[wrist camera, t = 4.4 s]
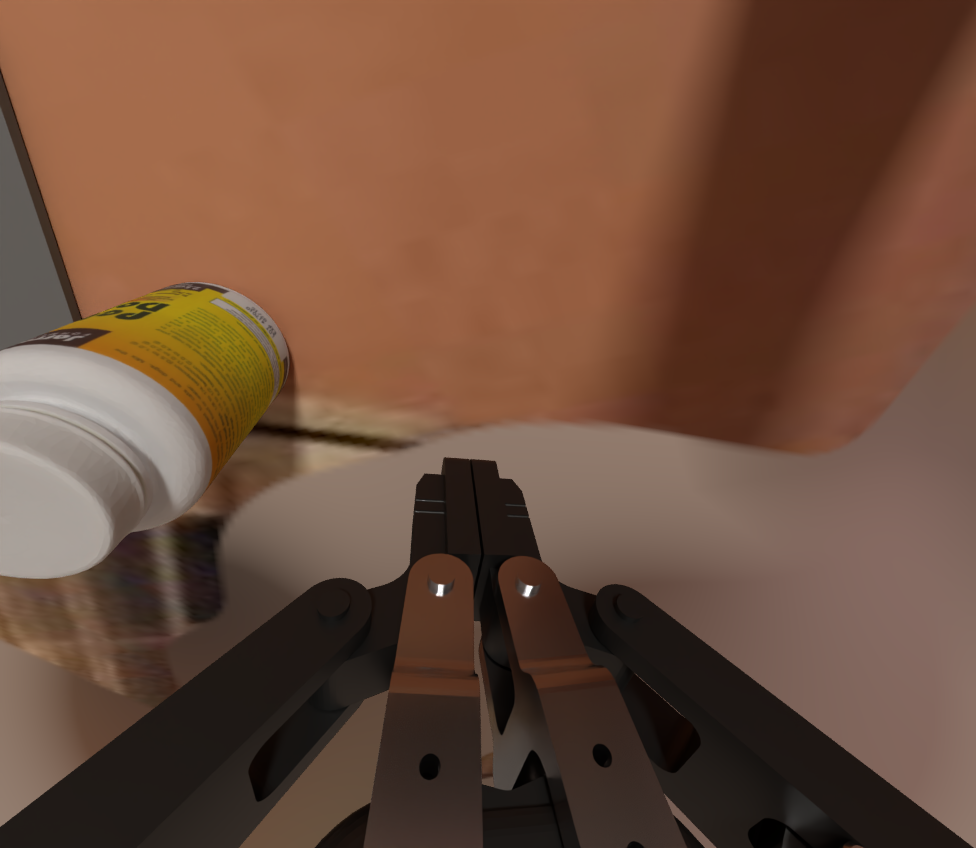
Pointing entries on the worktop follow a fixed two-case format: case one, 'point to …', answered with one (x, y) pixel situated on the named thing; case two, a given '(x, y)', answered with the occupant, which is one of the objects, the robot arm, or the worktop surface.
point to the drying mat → (27, 247)
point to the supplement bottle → (126, 420)
